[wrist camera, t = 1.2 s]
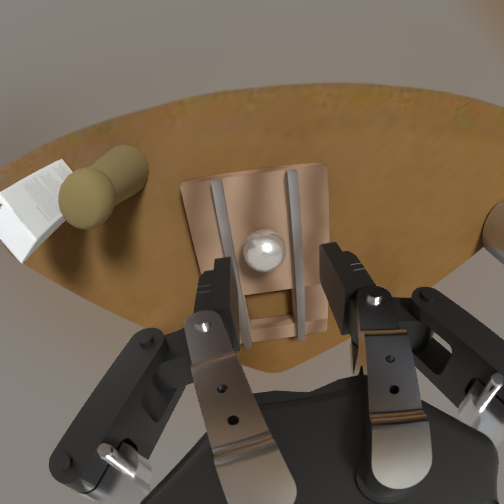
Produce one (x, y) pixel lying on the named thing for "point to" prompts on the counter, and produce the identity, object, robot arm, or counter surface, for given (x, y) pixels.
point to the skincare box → (32, 209)
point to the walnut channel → (273, 218)
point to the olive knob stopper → (102, 186)
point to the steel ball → (264, 250)
